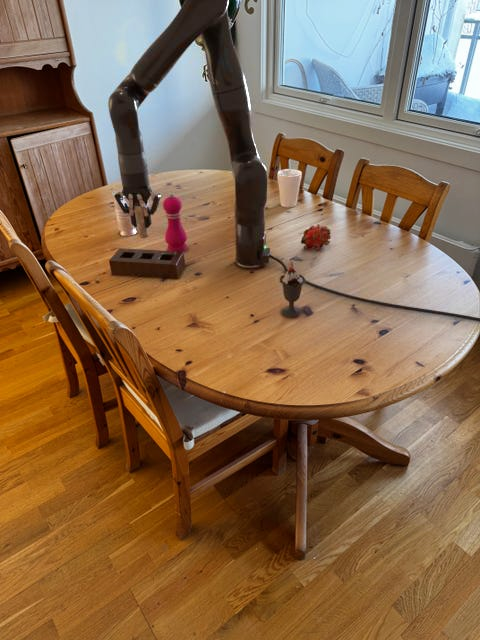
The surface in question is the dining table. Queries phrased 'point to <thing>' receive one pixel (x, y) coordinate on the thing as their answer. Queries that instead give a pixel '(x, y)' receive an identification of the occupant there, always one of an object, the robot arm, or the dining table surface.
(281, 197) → the foam cup
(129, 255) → the dark brown hollow block
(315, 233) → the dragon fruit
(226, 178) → the dining table surface
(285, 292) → the sundae
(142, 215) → the peg
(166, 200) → the pepper mill
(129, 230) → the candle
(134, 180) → the robot arm
